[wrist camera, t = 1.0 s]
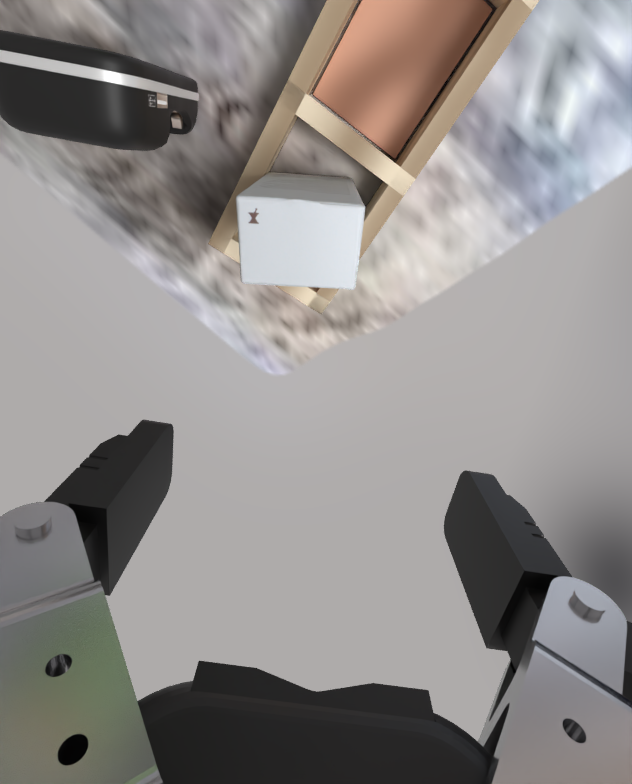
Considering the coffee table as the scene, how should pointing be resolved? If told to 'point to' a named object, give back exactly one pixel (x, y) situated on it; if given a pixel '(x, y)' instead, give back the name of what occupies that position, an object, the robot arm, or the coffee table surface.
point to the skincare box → (300, 231)
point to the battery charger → (91, 94)
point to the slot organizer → (381, 96)
